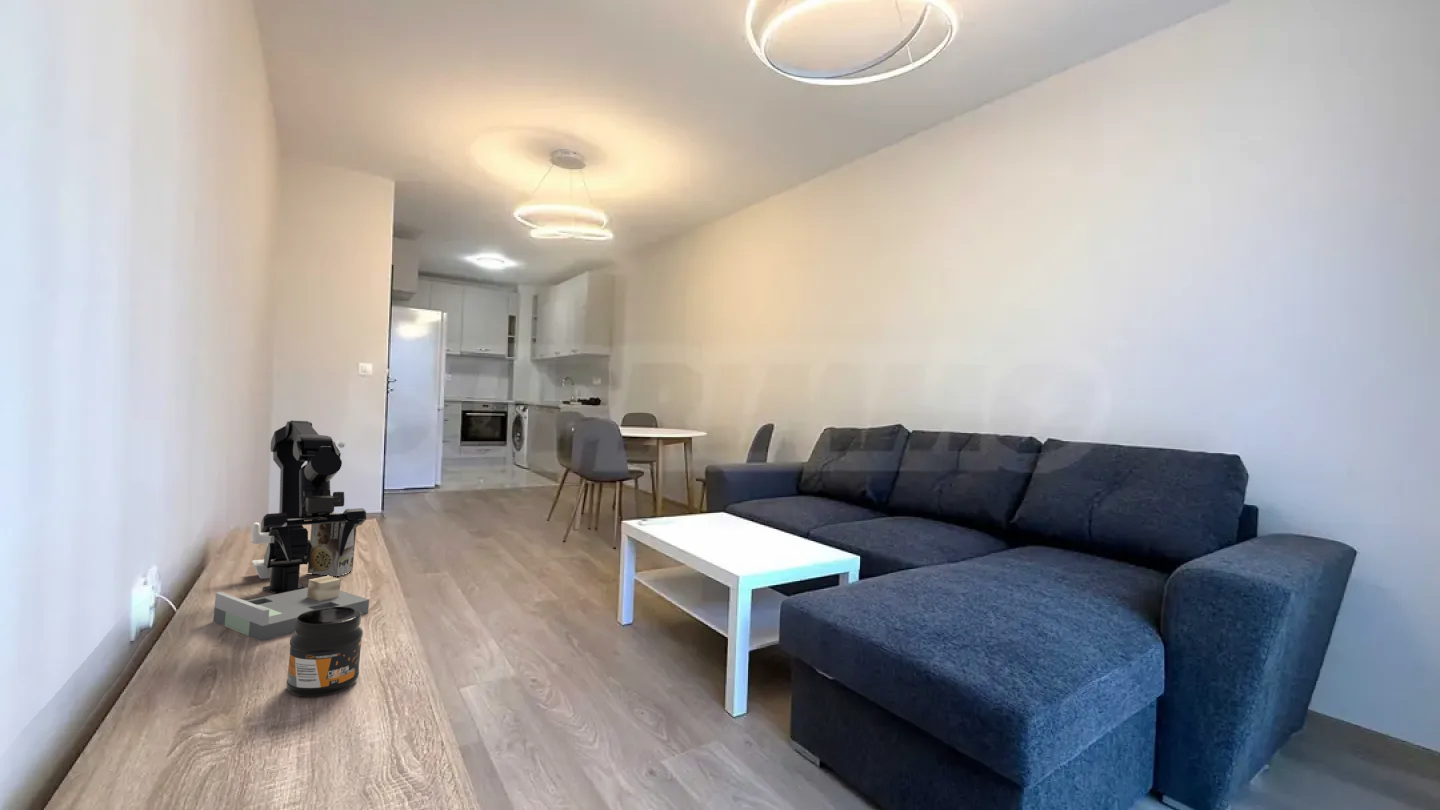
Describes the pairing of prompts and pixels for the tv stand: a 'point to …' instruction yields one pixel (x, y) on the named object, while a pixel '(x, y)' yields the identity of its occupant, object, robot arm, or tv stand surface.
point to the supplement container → (324, 651)
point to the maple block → (324, 588)
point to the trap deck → (275, 611)
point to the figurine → (265, 538)
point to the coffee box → (330, 550)
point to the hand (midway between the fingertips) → (315, 559)
